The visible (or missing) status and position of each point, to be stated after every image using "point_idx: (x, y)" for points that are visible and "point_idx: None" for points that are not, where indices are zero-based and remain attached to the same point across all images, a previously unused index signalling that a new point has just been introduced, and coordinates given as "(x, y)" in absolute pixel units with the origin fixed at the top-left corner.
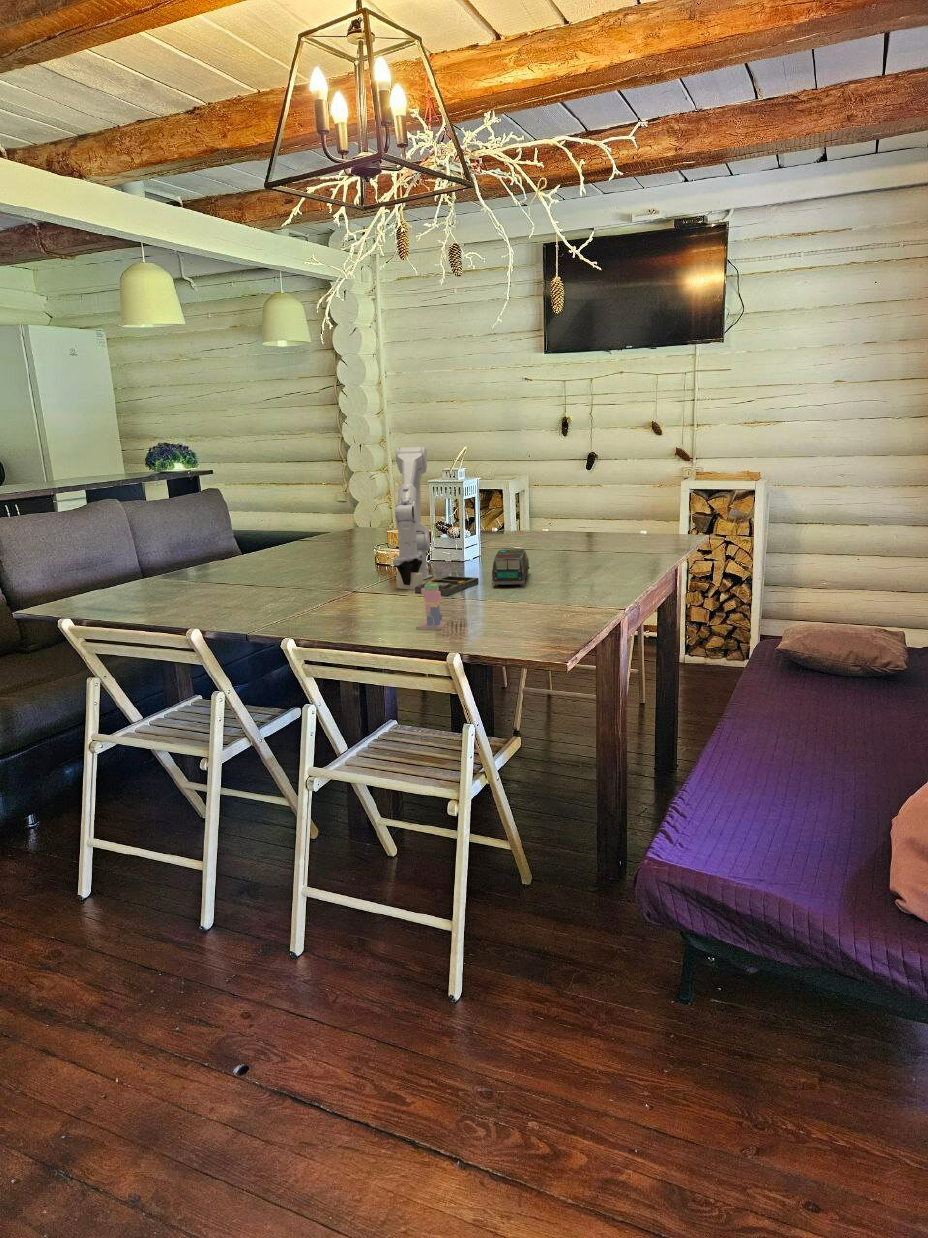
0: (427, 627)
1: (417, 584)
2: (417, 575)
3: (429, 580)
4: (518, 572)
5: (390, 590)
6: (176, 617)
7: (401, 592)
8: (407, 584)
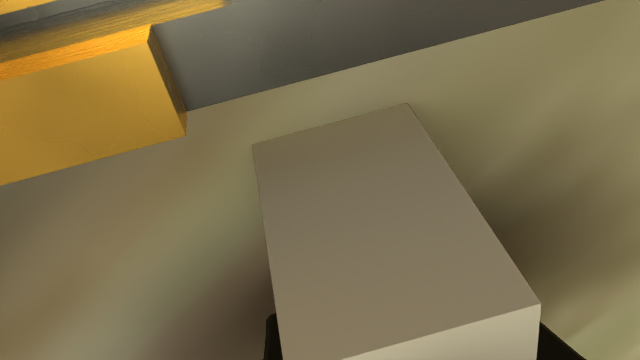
0: None
1: (438, 157)
2: (512, 289)
3: (175, 114)
4: None
5: (564, 315)
6: None
7: (637, 154)
8: None
